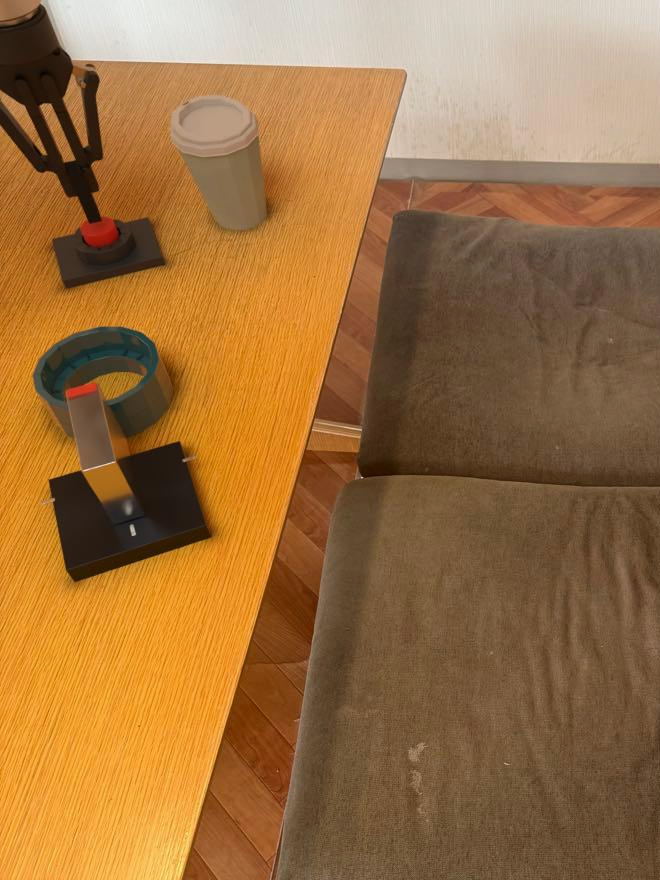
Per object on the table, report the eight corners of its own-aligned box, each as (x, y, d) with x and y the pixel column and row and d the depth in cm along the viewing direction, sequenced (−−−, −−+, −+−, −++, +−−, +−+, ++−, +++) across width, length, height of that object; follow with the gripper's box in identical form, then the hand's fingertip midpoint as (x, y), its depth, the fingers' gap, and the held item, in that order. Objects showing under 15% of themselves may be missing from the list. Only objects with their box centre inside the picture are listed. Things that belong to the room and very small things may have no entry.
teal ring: (65, 462, 94) (41, 423, 89) (49, 385, 101) (26, 344, 96) (186, 427, 98) (169, 388, 93) (162, 354, 104) (145, 314, 99)
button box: (69, 295, 110) (55, 268, 107) (58, 253, 115) (45, 226, 111) (167, 271, 113) (157, 244, 110) (153, 231, 118) (143, 204, 115)
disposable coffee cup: (298, 217, 121) (274, 109, 108) (240, 257, 115) (208, 148, 103) (241, 189, 124) (212, 81, 112) (183, 227, 119) (145, 118, 106)
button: (88, 251, 109) (82, 238, 108) (83, 232, 111) (77, 220, 110) (121, 243, 110) (116, 231, 109) (116, 225, 113) (111, 213, 111)
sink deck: (66, 591, 85) (52, 573, 82) (43, 470, 94) (30, 450, 91) (225, 539, 89) (217, 520, 87) (189, 427, 98) (180, 407, 95)
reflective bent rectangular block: (145, 515, 87) (115, 459, 80) (113, 525, 86) (80, 469, 79) (126, 438, 93) (96, 380, 86) (96, 446, 92) (63, 388, 85)
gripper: (66, -17, 93) (142, 187, 112) (-69, 5, 90) (33, 211, 109) (77, 14, 89) (154, 220, 108) (-64, 38, 86) (41, 246, 105)
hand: (93, 216), depth 109 cm, fingers closed
